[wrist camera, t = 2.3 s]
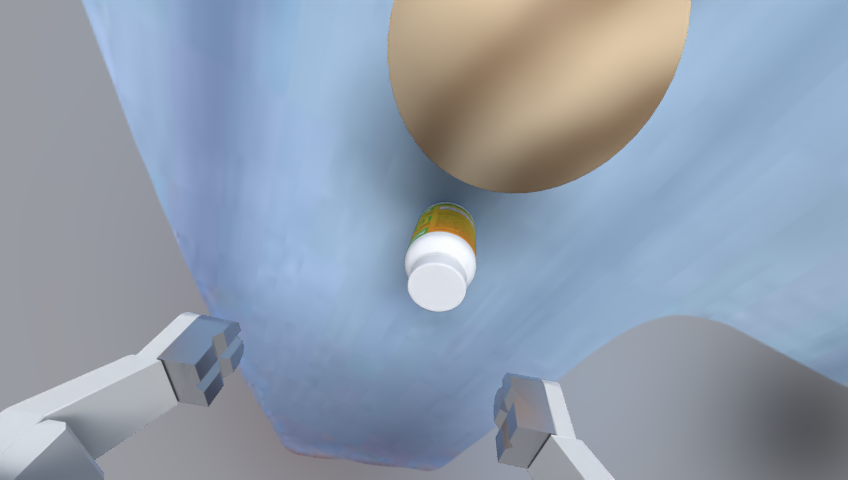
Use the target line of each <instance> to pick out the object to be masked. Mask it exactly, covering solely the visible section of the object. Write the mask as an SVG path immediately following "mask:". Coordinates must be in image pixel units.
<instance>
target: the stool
mask: <svg viewBox="0 0 848 480" xmlns="http://www.w3.org/2000/svg"><path fill="white" fill-rule="evenodd" d="M690 10H691V0H394V3H393V8H392V12H391V17H390V25H389V33H388V65H389V75H390V81H391V86H392V90H393V95H394V98H395V101H396V104H397V107H398V110H399V113H400V115H401V117H402V119H403V121H404V123H405V125H406V127H407V130H408V131H409V133H410V134H411V136H412V137H413V139H414V140H415V142H416V143H417V145H418V146H419V147H420V148H421V149H422V151H423V152H424V153H425V154H426V155H427V156H428V157H429V158H430V159H431V160H432V161H433V162H434V163H435V164H436V165H437V166H438V167H440V168H441V169H443V170H444V171H446V172H447V173H448V174H450V175H451V176H453V177H455V178H457V179H459V180H461V181H463V182H464V183H467V184H470V185H472V186H475V187H478V188H481V189H485V190H490V191H494V192H503V193H528V192H535V191H542V190H546V189H550V188H554V187H558V186H561V185H563V184H566V183H568V182H571V181H574V180H576V179H578V178H580V177H582V176H584V175H586V174H588V173H590V172H591V171H593V170H595V169H596V168H598V167H599V166H601V165H602V164H604V163H605V162H607V161H608V160H609V159H610V158H612V157H613V156H614V155H615V154H617V153H618V152H619V151H620V150H621V149H623V148H624V147H625V146H626V145H627V144H628V143H629V142H630V141H631V140H632V139H633V138H634V137H635V136H636V135H637V133H638V132H639V131H640V130H641V129H642V127H643V126H644V125H645V124H646V122H647V121H648V120H649V119H650V117H651V116H652V114H653V113H654V111H655V110H656V108H657V107H658V105H659V104H660V102H661V100H662V99H663V97H664V95H665V93H666V91H667V89H668V87H669V85H670V83H671V81H672V79H673V77H674V75H675V72H676V69H677V67H678V64H679V61H680V59H681V56H682V52H683V48H684V44H685V41H686V37H687V33H688V25H689V18H690Z"/></svg>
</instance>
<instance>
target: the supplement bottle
mask: <svg viewBox="0 0 848 480" xmlns="http://www.w3.org/2000/svg"><path fill="white" fill-rule="evenodd" d="M405 270H406V274H407V276H408V278H409V279H408V291H409V294H410V296H411V298H412V299H413V300H414V301H415V302H416V303H417V304H418V305H419V306H421V307H423V308H425V309H427V310H430V311H438V312H440V311H448V310H451V309H453V308H455V307H456V306H458V305H459V304H460V303H461V302H462V300H463V299H464V297H465V294H466V288H467V287H468V285H469V284H470V283H471V281H472V280H473V278H474V275H475V271H476V229H475V223H474V220H473V218H472V216H471V215H470V213H469V212H468V211H467V210H466V209H465V208H463V207H462V206H460V205H458V204H455V203H451V202H440V203H436V204H434V205H431V206H430V207H428V208H427V209H426V210H425V211H424V212H423V213H422V215H421V216H420V218H419V220H418V223H417V226H416V228H415V231H414V234H413V236H412V239H411V242H410V245H409V247H408V250H407V253H406V257H405Z"/></svg>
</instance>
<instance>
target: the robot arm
mask: <svg viewBox="0 0 848 480" xmlns="http://www.w3.org/2000/svg"><path fill="white" fill-rule="evenodd" d="M240 331H241V329H240V326H239V323H238V322H233V321H229V320H224V319H219V318H215V317H210V316H206V315H200V314H196V313H191V312H185V313H183V314H180V315H179V316H178V317H177V318H176V319H175V320H174V321H173V322H171V323H170V324H169V325H168V326H167V327H166V328H165V329H164V330H163V331H162V332H161V333H160V334H159V335H157V336H156V337H155V338H154V339H153V340H152V341H151V342H150V343H149V344H148V345H147V346H146V347H145V348H144V349H142V350H141V351H140V352H139V353H138V354H137V355H132V354H131V355H128V356H126V357H124V358H121V359H119V360H117V361H115V362H112V363H110V364H108V365H105V366H103V367H101V368H99V369H96V370H94V371H91V372H89V373H87V374H85V375H83V376H80V377H78V378H75V379H73V380H71V381H69V382H66V383H64V384H62V385H59V386H57V387H55V388H52V389H50V390H48V391H46V392H43V393H41V394H39V395H36V396H34V397H32V398H29V399H27V400H25V401H23V402H20V403H18V404H16V405H13V406H11V407H9V408H7V409H5V410H4V411H2V412H1V413H0V480H104V472H103V471H102V470H101V468H100V467H99V466H98V464H97V463H96V462H95V460H96V459H97V458H99V457H100V456H102V455H103V454H105V453H106V452H108V451H109V450H110V449H112V448H113V447H115V446H116V445H118V444H119V443H121V442H122V441H124V440H125V439H127V438H128V437H130V436H131V435H133V434H134V433H136V432H137V431H139V430H140V429H142V428H143V427H145V426H146V425H148V424H149V423H150V422H152V421H153V420H155V419H156V418H158V417H159V416H161V415H162V414H164V413H165V412H167V411H168V410H170V409H171V408H173V407H174V406H176V405H177V404H178V402H182V403H188V404H195V405H202V406H207V407H209V405H210V404H211V402H212V401H213V400H214V398H215V397H216V395H217V394H218V393H219V391H220V390H221V389H222V387H223V386H224V383H223V378H224V377H226V376H227V375H229V374H231V373H233V372H234V370H235V369H236V367H237V366H238V364H239V362H240V360H241V358H242V355H243V350H244V345H243V340H242V339H241V338H240V337H239V336H238V334H239V332H240ZM502 383H503V387H501V388H500V389H498V391H497V393H496V396H495V401H494V422H495V424H496V425H497V427H498V428H499V432H498V434H497V436H496V447H497V457H498V462H499V463H504V464H508V465H513V466H517V467H522V468H526V469H528V472H529V474H530V476H531V478H532V479H533V480H615V479H614V478H613V477H612V476H611V475H610V473H609V472H608V471H607V470H606V468H605V467H604V466H603V465H602V464H601V463H600V461H599V460H598V459H597V458H596V457H595V456H594V454H593V453H592V452H591V451H590V449H589V448H588V447H587V446H586V445H585V443H584V442H583V441H582V440H578V439H576V436H575V433H574V429H573V426H572V423H571V419H570V416H569V413H568V410H567V406H566V403H565V400H564V396H563V394H562V390H561V386H560V385H559V383H558V382H554V381H548V380H543V379H539V378H534V377H529V376H523V375H517V374H511V373H506V374H505V375H504V377H503V379H502Z"/></svg>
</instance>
